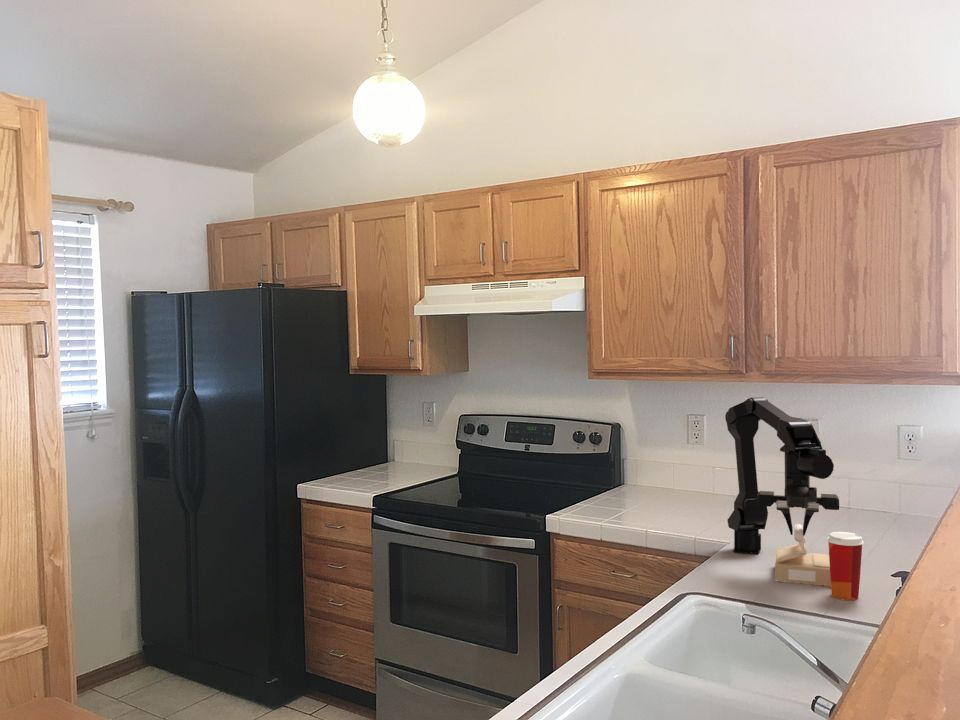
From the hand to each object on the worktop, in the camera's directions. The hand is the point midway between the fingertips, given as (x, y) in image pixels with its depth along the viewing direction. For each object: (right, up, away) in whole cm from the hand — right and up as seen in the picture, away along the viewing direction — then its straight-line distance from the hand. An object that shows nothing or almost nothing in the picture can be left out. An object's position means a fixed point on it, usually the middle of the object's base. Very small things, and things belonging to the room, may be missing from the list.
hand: (797, 534), depth 201 cm
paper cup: (+5, -11, -15) cm, 19 cm away
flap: (-1, -4, 0) cm, 4 cm away
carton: (+3, -10, -1) cm, 10 cm away
